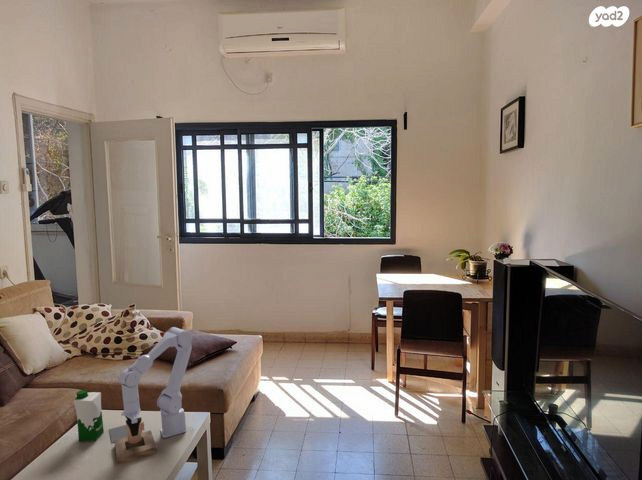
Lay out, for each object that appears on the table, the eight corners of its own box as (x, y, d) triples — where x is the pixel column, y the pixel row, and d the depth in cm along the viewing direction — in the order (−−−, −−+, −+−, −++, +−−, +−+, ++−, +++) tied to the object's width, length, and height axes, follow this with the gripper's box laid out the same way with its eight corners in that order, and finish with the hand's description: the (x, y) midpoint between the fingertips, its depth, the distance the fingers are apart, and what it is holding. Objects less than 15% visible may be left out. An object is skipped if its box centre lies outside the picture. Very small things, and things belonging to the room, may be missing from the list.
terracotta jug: (144, 434, 183) (142, 415, 182) (145, 440, 179) (144, 421, 178) (127, 438, 180) (125, 420, 179) (128, 445, 176) (126, 425, 175)
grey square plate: (139, 422, 201) (139, 421, 201) (142, 434, 190) (142, 434, 190) (109, 429, 195) (109, 429, 195) (111, 443, 185) (111, 442, 185)
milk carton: (86, 431, 194) (81, 387, 192) (107, 430, 194) (103, 386, 192) (75, 443, 186) (70, 397, 183) (96, 442, 186) (92, 396, 183)
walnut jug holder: (151, 435, 189) (150, 430, 189) (156, 452, 177) (156, 446, 177) (114, 446, 182) (114, 440, 182) (118, 464, 170) (117, 458, 170)
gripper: (118, 395, 181) (121, 426, 183) (121, 410, 169) (125, 444, 171) (137, 390, 185) (139, 421, 187) (141, 405, 172) (144, 438, 174)
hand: (134, 432), depth 179 cm, fingers closed on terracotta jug, 5 cm apart
